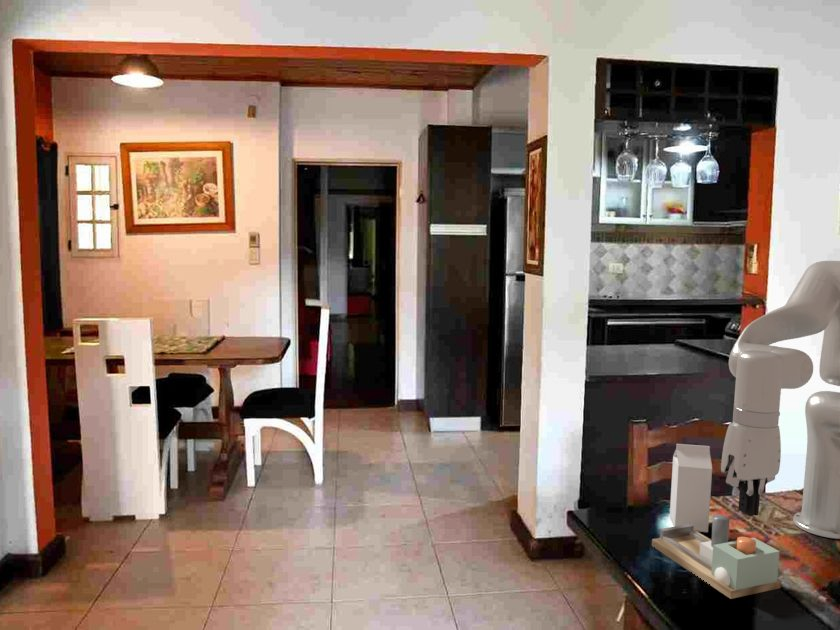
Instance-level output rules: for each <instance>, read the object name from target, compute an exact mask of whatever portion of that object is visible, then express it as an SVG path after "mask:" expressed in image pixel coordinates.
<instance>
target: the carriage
mask: <svg viewBox="0 0 840 630" xmlns="http://www.w3.org/2000/svg"><path fill="white" fill-rule="evenodd" d="M730 521H731V519H730V517H728V516H726V515H724V514H714V515H712V526H711V527H712V528H711V541H707V542H702V543H700V553H699V556H700V557H702V558H703V559H705V560H706V561H708V562H709V563H711V564H712V556H713V545H716V544H721V543H727V542H729V536H730V535H729V533H730Z"/></svg>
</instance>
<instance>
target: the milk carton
mask: <svg viewBox="0 0 840 630" xmlns="http://www.w3.org/2000/svg"><path fill="white" fill-rule="evenodd" d="M710 450H711V446H709V445H695V444H686V443H685V444H683V443H676V448H675V450H674V452H673V455H672V468H671V469H672V470H671V486H670V487H671V488H670V504H669V505H670V506H669V507H670V508H669V518H670V521H671V523H672V527H675V526H681V525H687V524H691V525H693V526H694V527H693V531H694V532H699V533H709V523H710V521H709V520H710V507H711V491H712V475H713V464H712V457H711V451H710Z"/></svg>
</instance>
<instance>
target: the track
mask: <svg viewBox="0 0 840 630" xmlns="http://www.w3.org/2000/svg"><path fill="white" fill-rule="evenodd" d="M693 527H694V526H693V525H691V524H687V525H681V526H675V527H674V526H671V527H670V526H669V527H665V528H660V530H659V537H657V538H652V539H651V546H652V548H654V547H655V548H654V549H656V550H657V551H659V552H660V553H661V554H663V555H664V556H666V557H668V558H669V559H670V560H672V561H673V562H675V563H677V564H678V565H679V566H681V567H682V568H684V569H685V570H687V571H688V572H689V573H691V572H692V573H691V574H693V575H694V574H695V575H694V576H696V577H697V576H698V578H699V579H700V578H701V581H703V580H704V581H703V582H704V583H706V582H707V583H706V584H707V585H709V584H710V585H709V586H711V587H712V588H714V589H715V590H716V591H718V592H719V593H721V594H723V595H724V596H725V597H727V598H729V599H730V600H732V599H736V598H741V597H746V596H751V595H755V594H759V593H758V592H759V591H761V592H760V593H765V592H769V591H773V590H777V589H781V585H782V580H780V579H779V578H778V577H777V582H772V583H774V584H775V583H776V585H777V586H776V585H774V584H773V586H772V584H771V583H770V586H767V585H766V586H765V584H763V585H764V588H763V585H761V586H760V585H758V587H759V586H760V587H762V588H744V589H745V594H744V593H743V592H744V591H743V589H742V592H741V590H734V589H733V588H731V587H730V586H728V587H727V586H726V585H724V584H723V583H721V582H720V581H718V580H717V579H715V577H714V576H713V575H711V571H712V564H711V563H709V562H708V561H706V560H705V559H703V558H702V557H700V556H699V553H700V543H702V542H707V541H711V540H712V538H709V537H708V536H706V535H704V534H702V532H698V531H693ZM767 584H768V583H767ZM768 585H769V584H768ZM754 587H757V586H754ZM767 587H768V588H767ZM773 587H777V588H773ZM750 589H752V591H751V590H750ZM753 589H754V590H753ZM758 589H759V591H758ZM761 589H765V590H763V591H762V590H761ZM766 589H767V591H766ZM770 589H771V590H770ZM749 590H750V591H749ZM735 591H736V592H735ZM748 591H749V592H748ZM754 591H755V592H756V593H755V592H754ZM757 591H758V592H757ZM750 592H751V593H750ZM752 592H753V594H752ZM735 593H737V594H735ZM739 594H740V595H739ZM743 594H744V595H743ZM747 594H749V595H747ZM735 596H737V597H736V598H735ZM738 596H739V597H738Z"/></svg>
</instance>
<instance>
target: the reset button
mask: <svg viewBox="0 0 840 630" xmlns="http://www.w3.org/2000/svg"><path fill="white" fill-rule="evenodd" d="M751 538H752V537H747V536H738V537H737V539H736V541H737V550H738V551H740V552H742V553H743V554H745V555H750V554H755V550H756V541H755V540H753V539H751Z"/></svg>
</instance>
